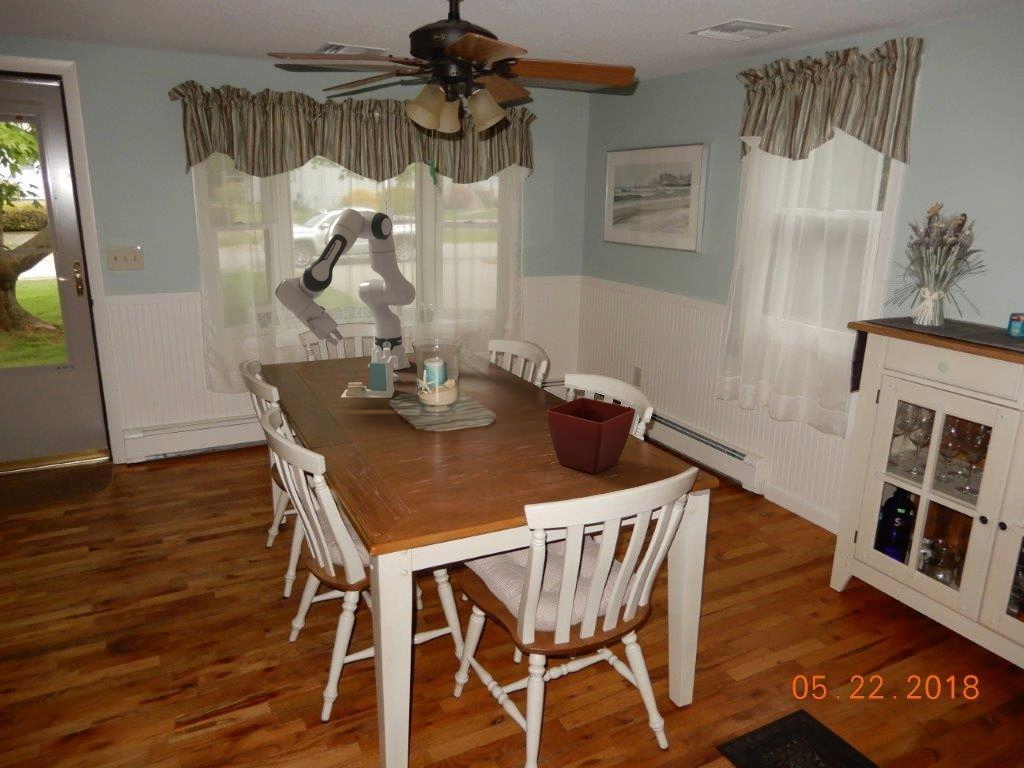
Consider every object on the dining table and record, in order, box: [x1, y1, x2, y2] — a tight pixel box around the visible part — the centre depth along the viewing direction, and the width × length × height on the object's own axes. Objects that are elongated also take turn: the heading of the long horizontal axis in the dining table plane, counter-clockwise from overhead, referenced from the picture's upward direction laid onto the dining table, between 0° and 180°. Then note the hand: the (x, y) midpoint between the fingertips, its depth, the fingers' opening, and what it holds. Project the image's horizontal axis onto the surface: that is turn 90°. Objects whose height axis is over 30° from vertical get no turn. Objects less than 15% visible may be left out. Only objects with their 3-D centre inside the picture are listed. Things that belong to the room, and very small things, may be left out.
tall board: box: [368, 361, 387, 391], centre depth 272 cm, size 2×6×12 cm, turn 92°
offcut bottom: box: [345, 385, 368, 396], centre depth 273 cm, size 8×6×2 cm
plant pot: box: [546, 397, 636, 475], centre depth 209 cm, size 19×19×17 cm
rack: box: [340, 356, 395, 399], centre depth 272 cm, size 11×19×15 cm, turn 92°
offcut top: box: [347, 381, 363, 392], centre depth 272 cm, size 6×5×2 cm
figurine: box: [375, 348, 400, 383], centre depth 291 cm, size 7×9×15 cm
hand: (339, 341), depth 268 cm, fingers open, 8 cm apart
